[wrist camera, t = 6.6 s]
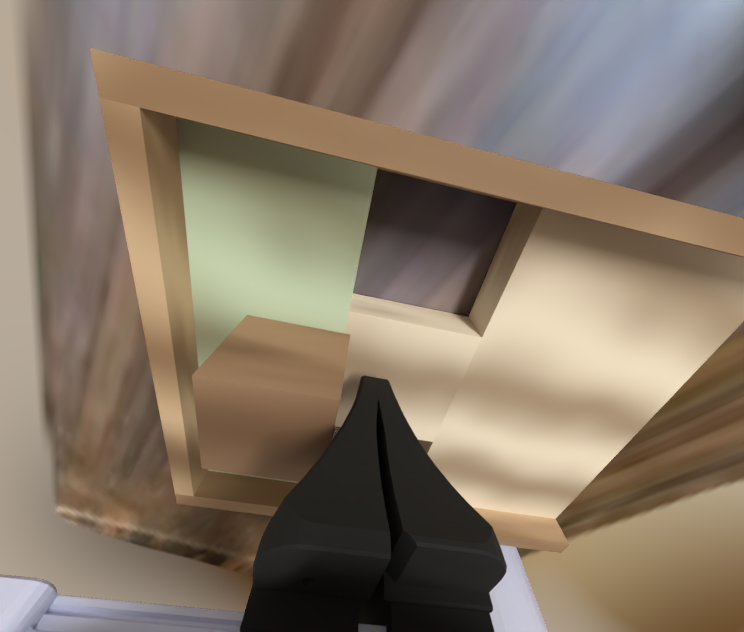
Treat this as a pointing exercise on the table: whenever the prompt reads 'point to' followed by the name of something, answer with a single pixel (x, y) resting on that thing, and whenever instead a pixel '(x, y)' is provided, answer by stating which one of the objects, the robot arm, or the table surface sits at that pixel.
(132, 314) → the table surface
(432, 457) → the board
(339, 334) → the walnut block
